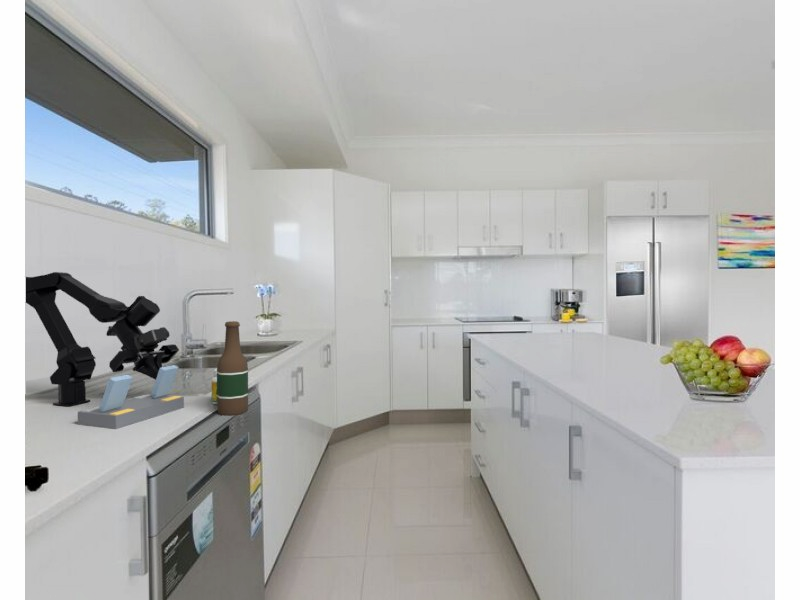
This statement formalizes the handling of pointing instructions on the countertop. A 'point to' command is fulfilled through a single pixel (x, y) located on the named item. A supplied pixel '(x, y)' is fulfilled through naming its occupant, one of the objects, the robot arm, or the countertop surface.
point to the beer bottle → (232, 375)
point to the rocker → (164, 381)
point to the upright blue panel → (115, 392)
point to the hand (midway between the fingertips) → (162, 380)
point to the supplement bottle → (214, 388)
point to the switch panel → (130, 411)
